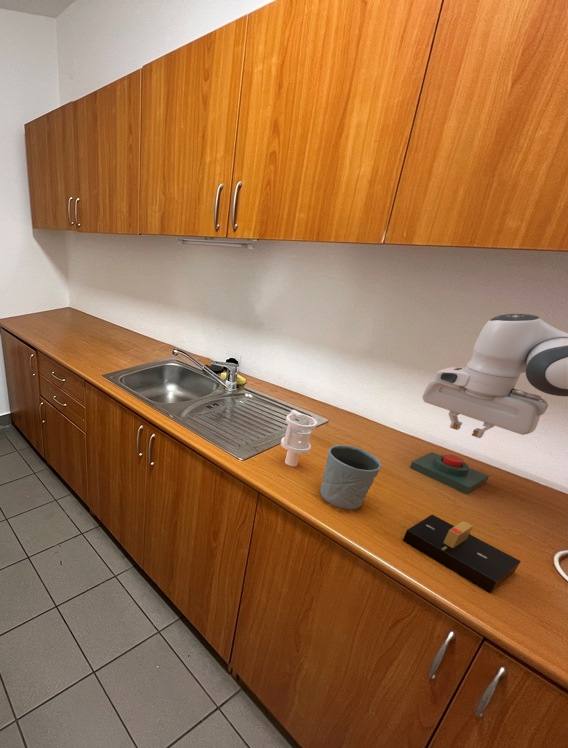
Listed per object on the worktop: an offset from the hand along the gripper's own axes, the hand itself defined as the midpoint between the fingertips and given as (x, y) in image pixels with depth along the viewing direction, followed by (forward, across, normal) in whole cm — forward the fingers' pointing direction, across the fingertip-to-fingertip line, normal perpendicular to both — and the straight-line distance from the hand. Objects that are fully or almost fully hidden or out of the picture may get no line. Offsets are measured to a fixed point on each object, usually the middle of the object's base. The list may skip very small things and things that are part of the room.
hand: (465, 432), depth 98 cm
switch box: (+13, 0, 0) cm, 13 cm away
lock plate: (+13, -14, +30) cm, 36 cm away
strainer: (+13, +22, +31) cm, 40 cm away
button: (+10, 0, 0) cm, 10 cm away
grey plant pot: (+13, +7, +33) cm, 36 cm away
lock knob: (+10, -13, +30) cm, 34 cm away
